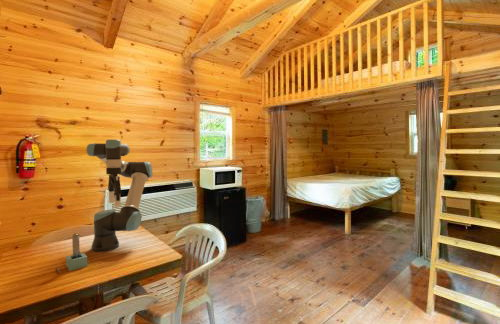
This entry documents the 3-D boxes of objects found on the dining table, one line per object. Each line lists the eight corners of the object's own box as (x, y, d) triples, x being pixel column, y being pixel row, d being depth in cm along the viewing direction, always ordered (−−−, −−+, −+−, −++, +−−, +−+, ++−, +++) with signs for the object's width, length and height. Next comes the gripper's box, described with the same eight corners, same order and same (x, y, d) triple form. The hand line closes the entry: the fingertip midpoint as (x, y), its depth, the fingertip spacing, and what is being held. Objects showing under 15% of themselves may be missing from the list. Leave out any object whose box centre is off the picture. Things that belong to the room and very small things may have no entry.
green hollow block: (66, 265, 139) (65, 256, 138) (83, 261, 144) (83, 252, 144) (69, 270, 133) (69, 261, 133) (87, 266, 139) (87, 256, 138)
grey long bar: (72, 265, 139) (71, 233, 138) (79, 264, 141) (78, 232, 140) (73, 267, 136) (72, 235, 136) (80, 266, 139) (79, 233, 138)
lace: (55, 268, 135) (55, 266, 135) (58, 268, 136) (58, 266, 136) (58, 273, 130) (58, 271, 130) (60, 273, 130) (60, 271, 130)
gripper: (101, 166, 154) (102, 201, 155) (111, 168, 135) (112, 209, 136) (115, 165, 159) (116, 200, 160) (127, 167, 140) (128, 207, 141)
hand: (114, 204), depth 148 cm, fingers open, 13 cm apart
